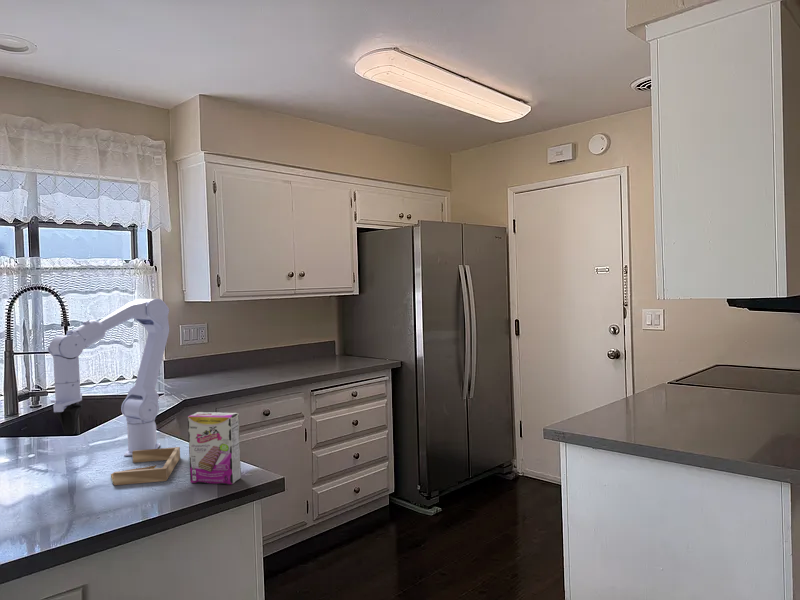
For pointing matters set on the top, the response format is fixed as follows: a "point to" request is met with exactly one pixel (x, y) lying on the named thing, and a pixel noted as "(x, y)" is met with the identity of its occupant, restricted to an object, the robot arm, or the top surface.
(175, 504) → the top surface
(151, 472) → the frame
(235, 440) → the candy bar box
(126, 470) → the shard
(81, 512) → the top surface
